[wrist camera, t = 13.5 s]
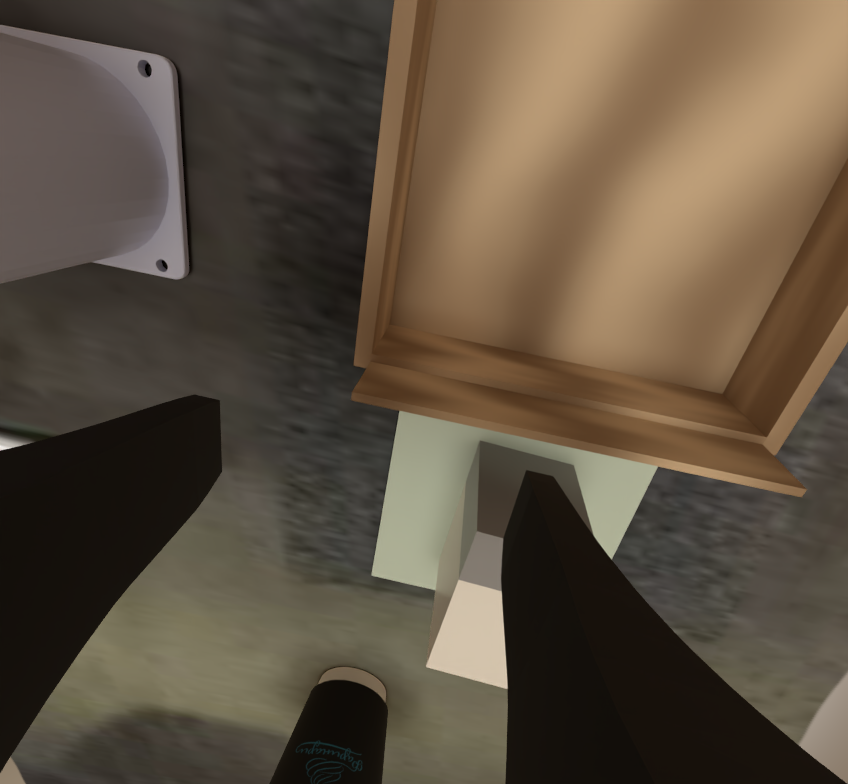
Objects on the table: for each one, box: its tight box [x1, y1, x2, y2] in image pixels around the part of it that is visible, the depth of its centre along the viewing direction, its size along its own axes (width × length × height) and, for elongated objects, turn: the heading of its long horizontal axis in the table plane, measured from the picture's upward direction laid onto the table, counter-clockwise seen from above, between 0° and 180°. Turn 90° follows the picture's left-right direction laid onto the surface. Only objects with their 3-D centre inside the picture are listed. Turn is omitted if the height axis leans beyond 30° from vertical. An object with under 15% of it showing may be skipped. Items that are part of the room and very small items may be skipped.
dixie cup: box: [270, 667, 388, 784], centre depth 27 cm, size 8×8×11 cm
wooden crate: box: [351, 0, 848, 497], centre depth 12 cm, size 15×21×6 cm
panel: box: [372, 411, 658, 590], centre depth 24 cm, size 12×12×1 cm
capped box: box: [426, 440, 593, 689], centre depth 21 cm, size 4×8×6 cm, turn 167°
